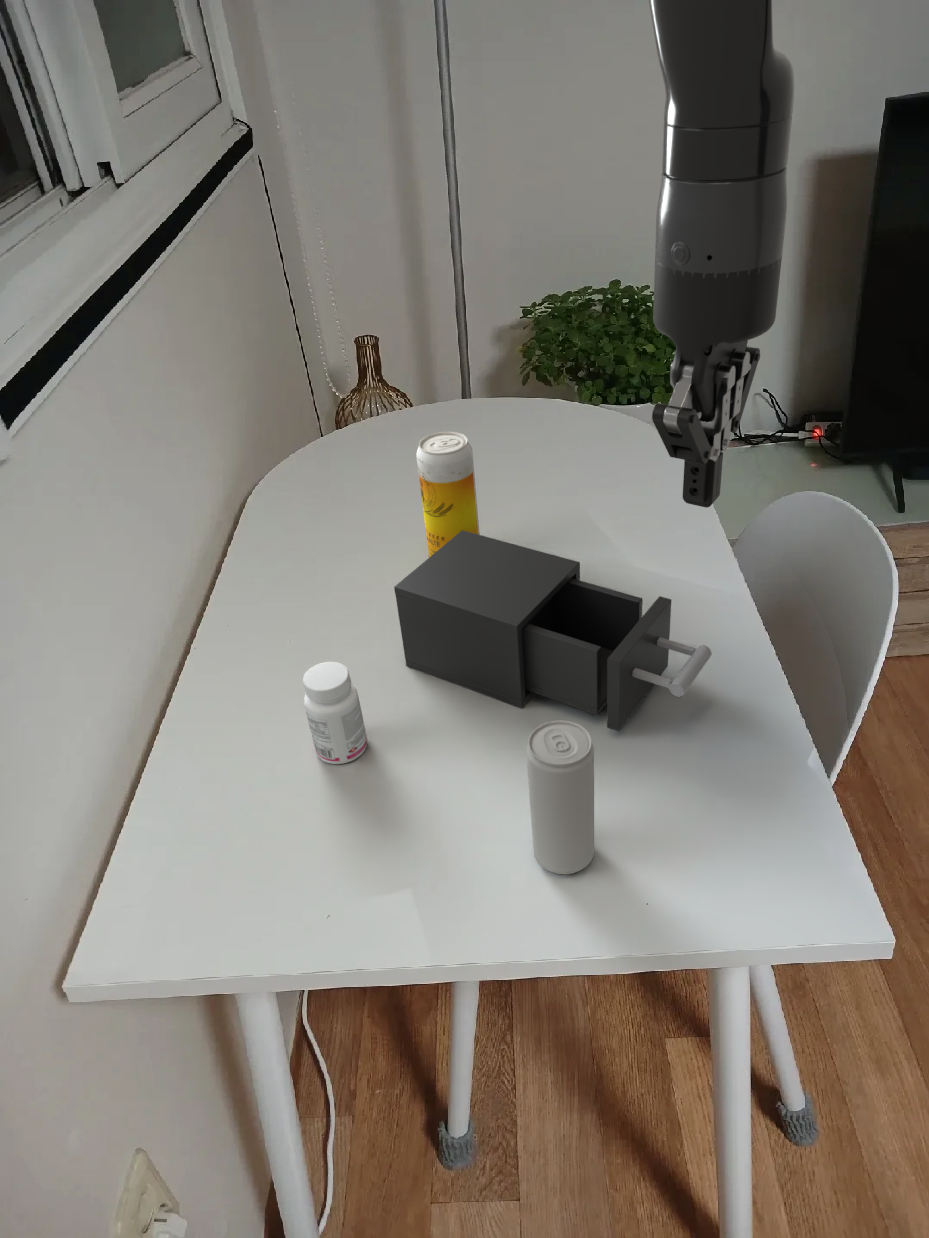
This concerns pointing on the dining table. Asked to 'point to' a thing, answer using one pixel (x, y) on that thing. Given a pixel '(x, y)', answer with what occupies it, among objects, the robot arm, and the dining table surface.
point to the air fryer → (477, 612)
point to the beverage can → (561, 795)
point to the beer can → (447, 487)
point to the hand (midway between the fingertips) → (700, 500)
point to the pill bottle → (334, 713)
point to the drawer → (603, 651)
